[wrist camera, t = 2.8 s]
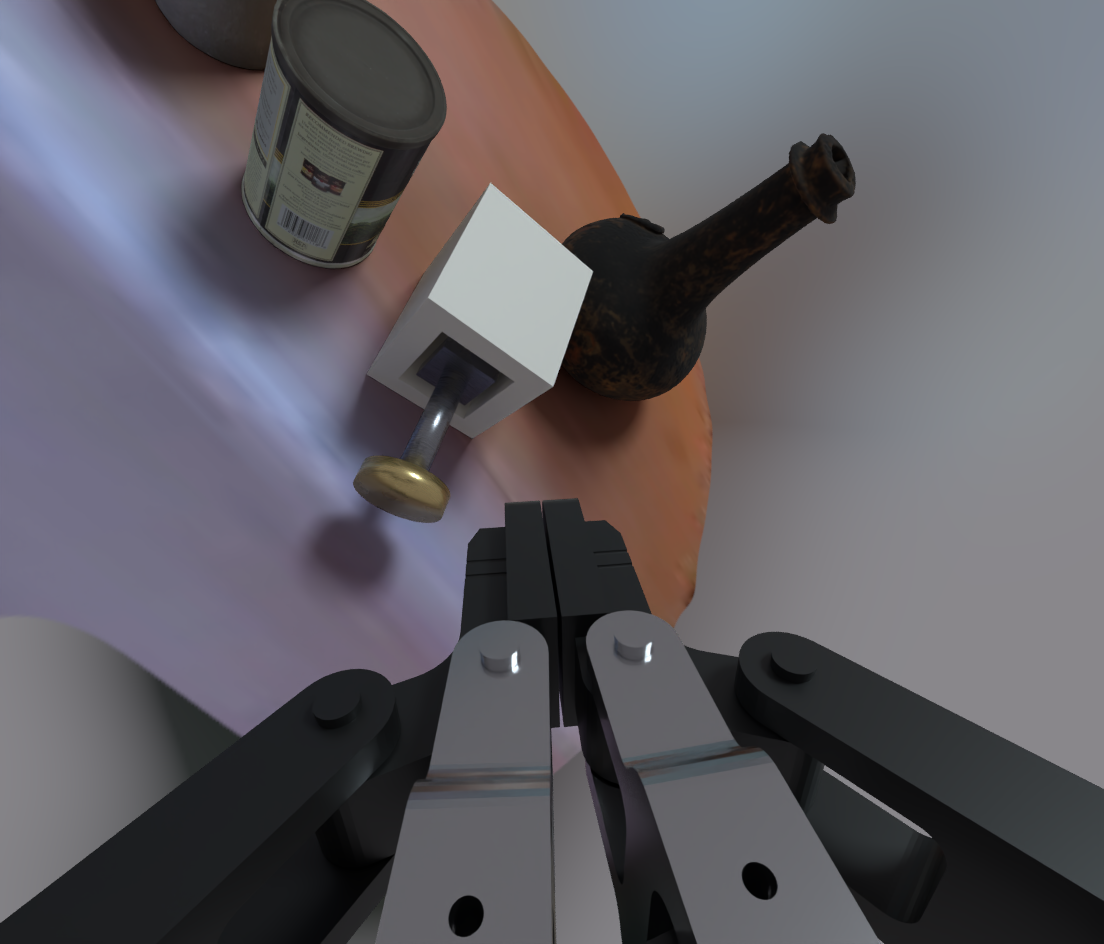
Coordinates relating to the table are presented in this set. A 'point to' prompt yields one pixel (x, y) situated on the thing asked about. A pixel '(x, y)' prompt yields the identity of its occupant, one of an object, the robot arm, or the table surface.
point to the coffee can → (337, 128)
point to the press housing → (490, 311)
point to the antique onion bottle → (686, 274)
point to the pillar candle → (224, 28)
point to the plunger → (426, 438)
